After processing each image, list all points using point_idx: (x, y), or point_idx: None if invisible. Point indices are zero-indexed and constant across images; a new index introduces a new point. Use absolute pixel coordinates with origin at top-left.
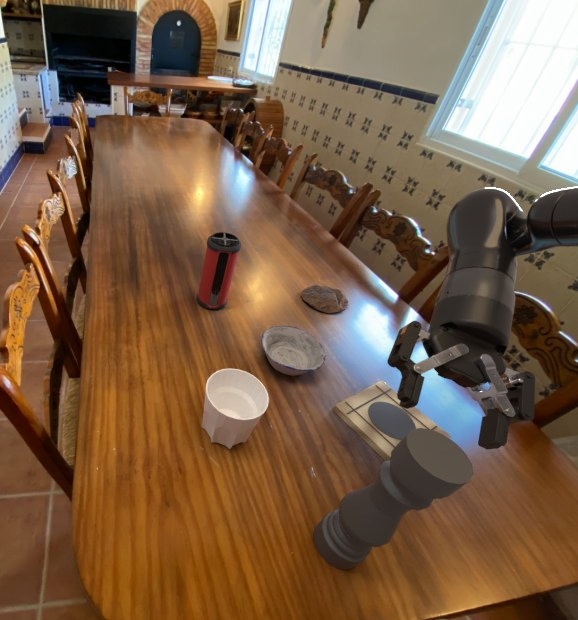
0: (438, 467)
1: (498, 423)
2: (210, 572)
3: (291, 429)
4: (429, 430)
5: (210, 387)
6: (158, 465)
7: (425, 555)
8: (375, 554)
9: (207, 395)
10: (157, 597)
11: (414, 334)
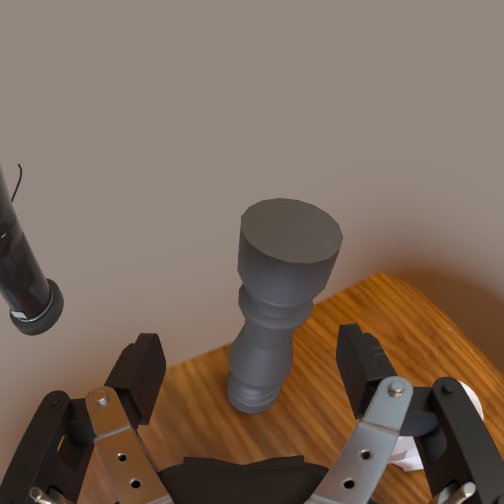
0: (291, 210)
1: (137, 365)
2: (344, 315)
3: None
4: (312, 259)
5: None
6: (425, 360)
7: (154, 420)
8: (209, 400)
9: (469, 388)
10: (362, 288)
11: (483, 470)
